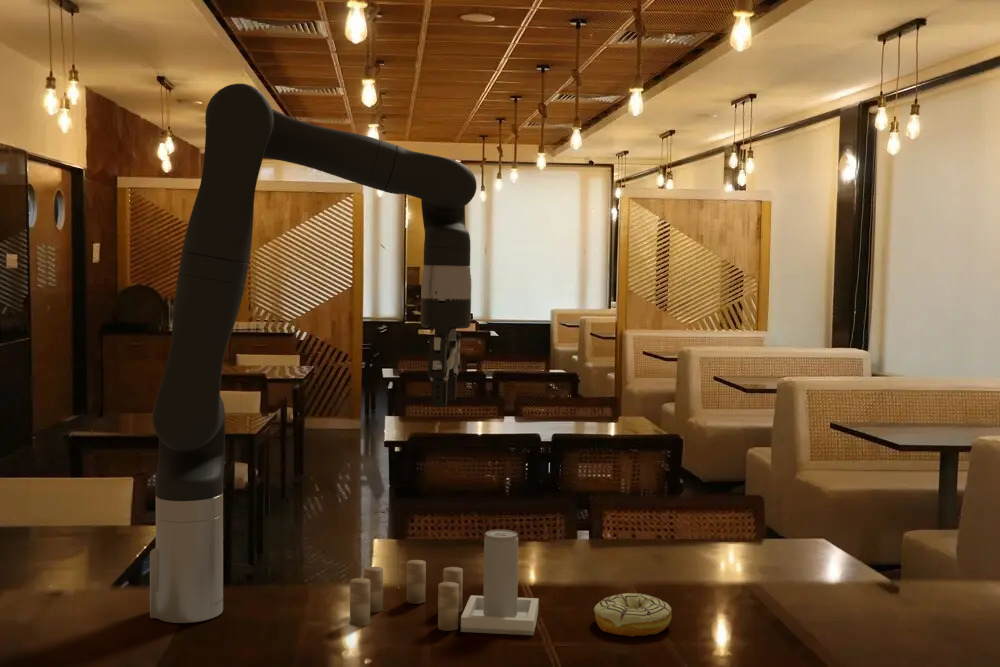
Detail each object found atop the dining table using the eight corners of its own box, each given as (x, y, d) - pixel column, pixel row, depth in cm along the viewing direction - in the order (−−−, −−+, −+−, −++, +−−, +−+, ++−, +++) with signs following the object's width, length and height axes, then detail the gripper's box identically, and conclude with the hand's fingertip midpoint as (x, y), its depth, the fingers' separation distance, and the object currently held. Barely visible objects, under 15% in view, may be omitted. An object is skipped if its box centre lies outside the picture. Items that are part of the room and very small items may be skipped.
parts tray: (460, 631, 140) (461, 617, 139) (470, 608, 149) (470, 595, 149) (533, 635, 138) (533, 620, 138) (538, 611, 148) (538, 598, 148)
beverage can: (513, 624, 141) (514, 538, 141) (479, 621, 142) (480, 536, 142) (520, 613, 146) (521, 530, 145) (487, 610, 147) (488, 528, 146)
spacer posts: (347, 625, 141) (347, 583, 141) (369, 596, 154) (370, 557, 154) (456, 631, 140) (457, 588, 139) (469, 601, 153) (469, 562, 153)
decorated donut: (580, 620, 146) (580, 594, 146) (644, 611, 150) (645, 586, 150) (617, 644, 136) (618, 616, 136) (685, 633, 140) (685, 606, 140)
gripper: (430, 295, 161) (428, 397, 161) (412, 296, 147) (410, 408, 147) (477, 296, 160) (475, 399, 161) (463, 297, 146) (461, 410, 146)
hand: (444, 403), depth 154 cm, fingers open, 8 cm apart
